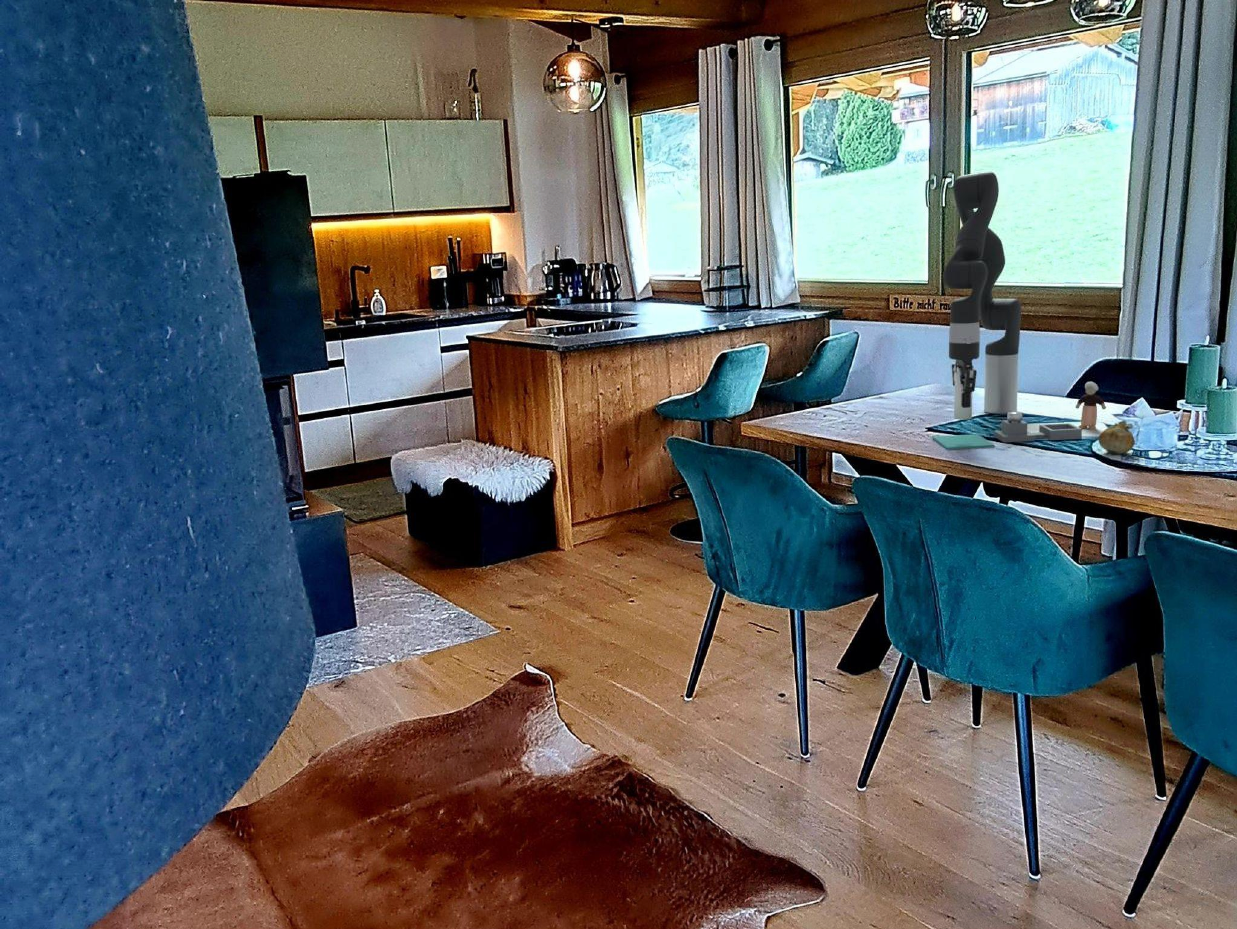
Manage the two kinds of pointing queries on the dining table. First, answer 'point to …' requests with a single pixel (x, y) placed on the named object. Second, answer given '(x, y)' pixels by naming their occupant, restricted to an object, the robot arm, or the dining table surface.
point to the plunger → (1014, 417)
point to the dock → (1050, 431)
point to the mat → (963, 442)
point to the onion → (1117, 438)
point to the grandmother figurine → (1090, 406)
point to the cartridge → (958, 409)
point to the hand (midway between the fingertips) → (963, 405)
